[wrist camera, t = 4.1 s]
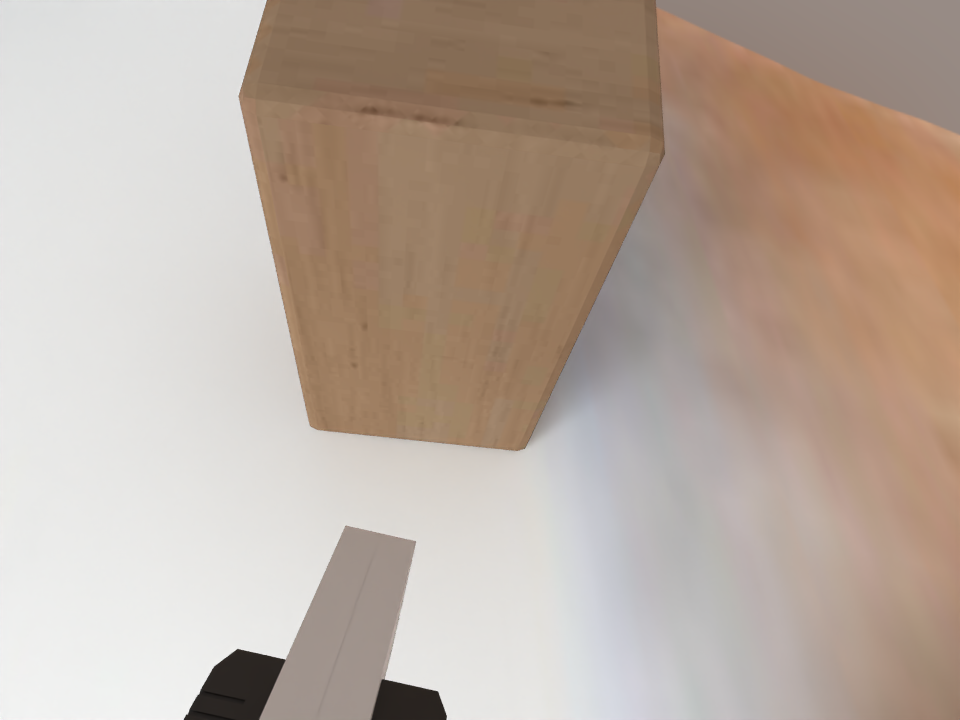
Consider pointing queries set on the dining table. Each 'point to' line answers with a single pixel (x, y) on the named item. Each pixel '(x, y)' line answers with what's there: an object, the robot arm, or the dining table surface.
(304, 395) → the wooden block
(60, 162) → the dining table surface
